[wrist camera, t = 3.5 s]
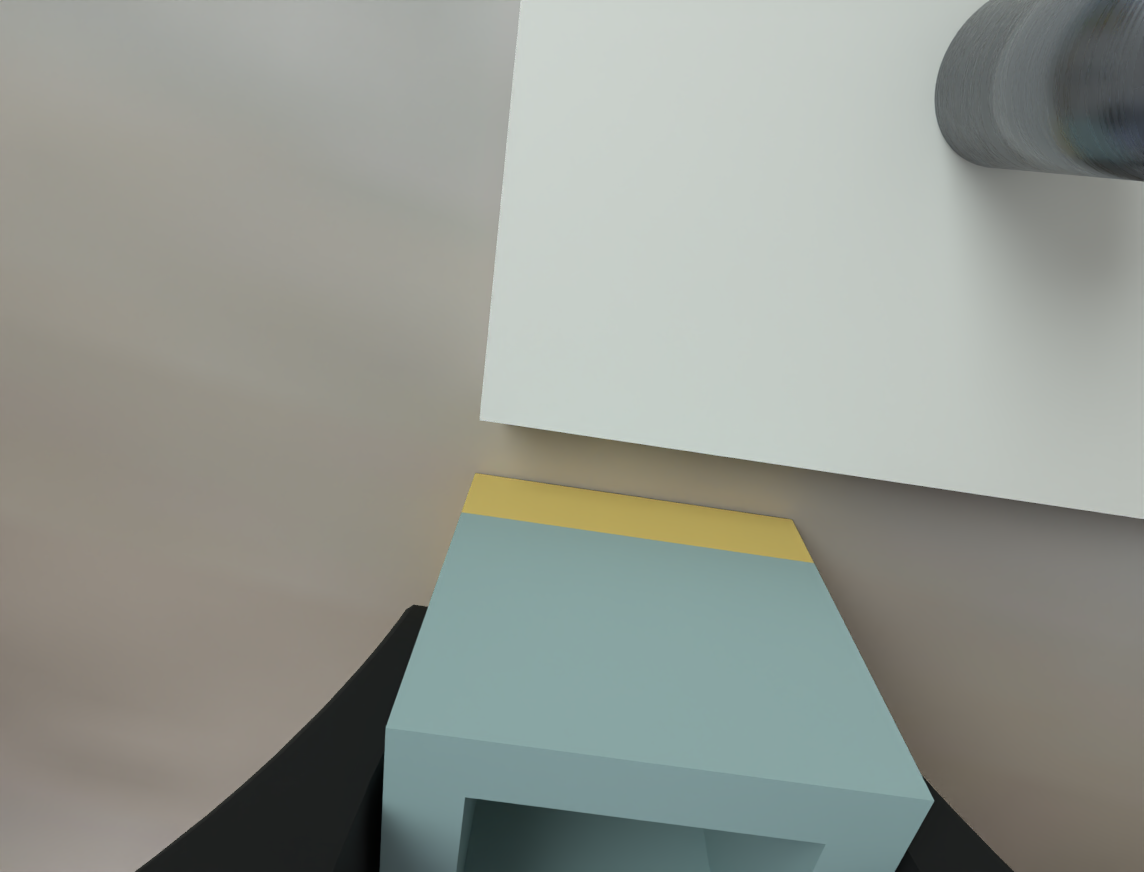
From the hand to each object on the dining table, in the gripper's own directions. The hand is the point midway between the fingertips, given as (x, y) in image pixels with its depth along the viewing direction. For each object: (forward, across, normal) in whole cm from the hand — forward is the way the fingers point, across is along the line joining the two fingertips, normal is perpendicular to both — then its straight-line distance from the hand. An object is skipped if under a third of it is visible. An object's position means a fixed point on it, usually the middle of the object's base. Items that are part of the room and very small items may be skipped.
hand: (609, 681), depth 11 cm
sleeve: (+1, 0, 0) cm, 1 cm away
